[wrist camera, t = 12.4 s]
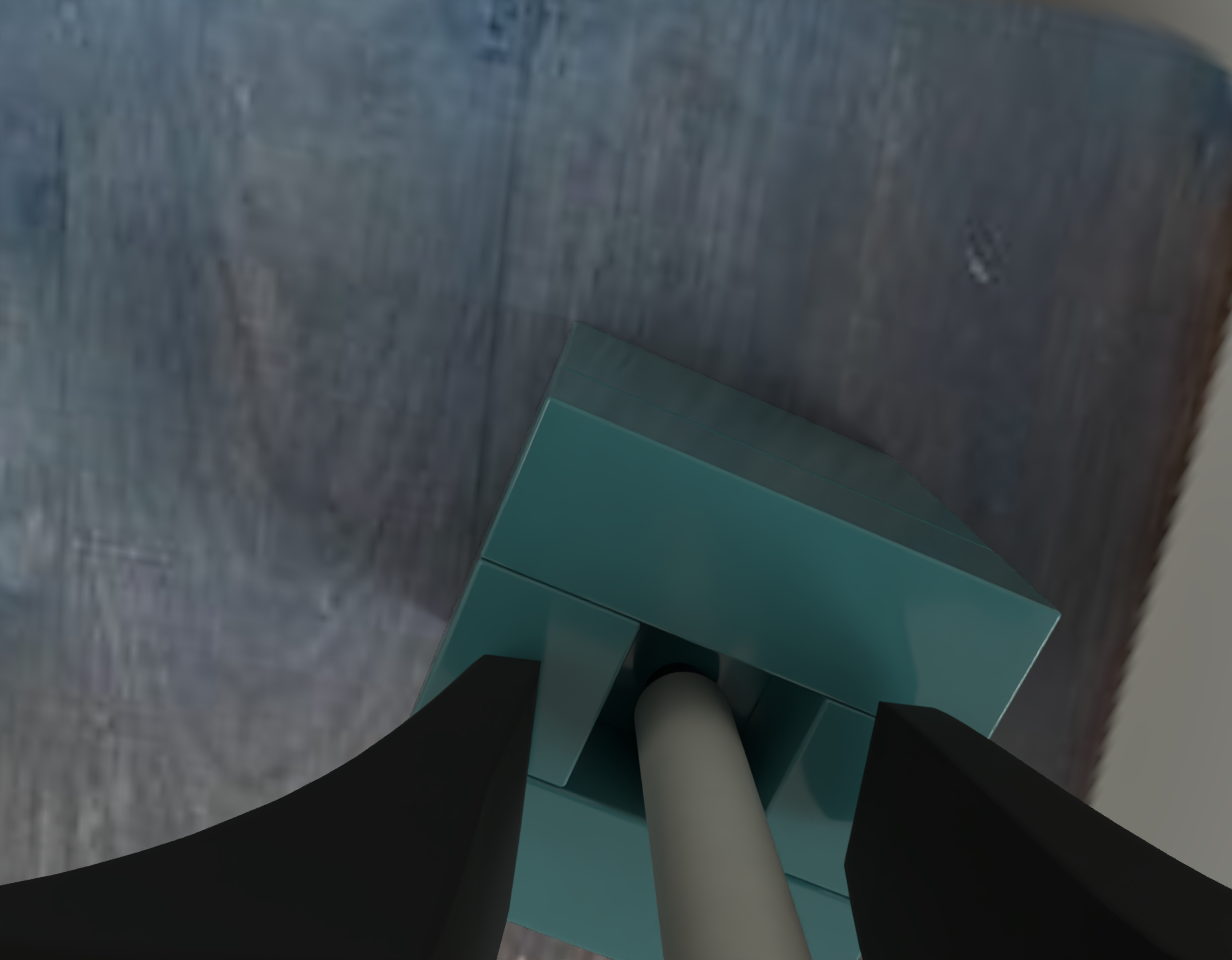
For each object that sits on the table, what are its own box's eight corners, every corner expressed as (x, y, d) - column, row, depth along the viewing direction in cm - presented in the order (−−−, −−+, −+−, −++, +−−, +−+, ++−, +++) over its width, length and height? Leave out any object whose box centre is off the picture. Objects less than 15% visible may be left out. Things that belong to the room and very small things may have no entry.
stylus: (736, 668, 13) (1163, 1814, 4) (701, 747, 14) (1014, 2014, 4) (651, 638, 13) (864, 1748, 4) (617, 719, 14) (729, 1963, 4)
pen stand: (895, 457, 18) (1065, 614, 11) (746, 744, 19) (816, 1037, 12) (574, 318, 17) (546, 396, 10) (445, 625, 19) (348, 867, 12)
